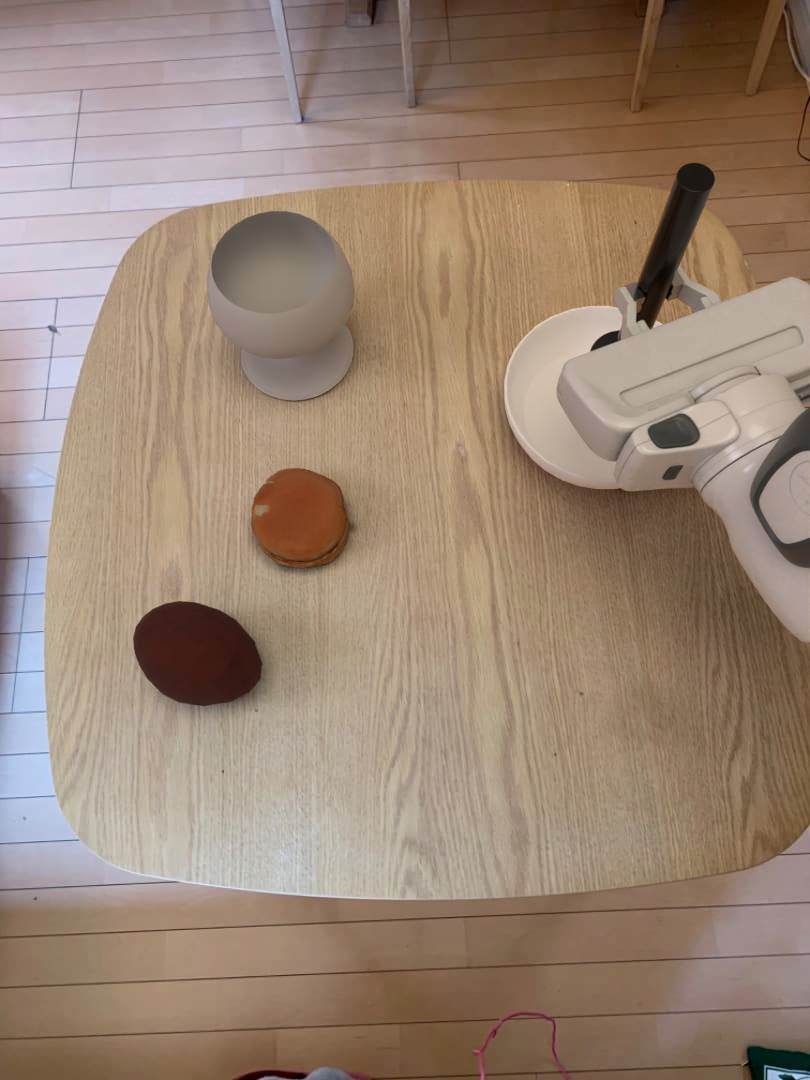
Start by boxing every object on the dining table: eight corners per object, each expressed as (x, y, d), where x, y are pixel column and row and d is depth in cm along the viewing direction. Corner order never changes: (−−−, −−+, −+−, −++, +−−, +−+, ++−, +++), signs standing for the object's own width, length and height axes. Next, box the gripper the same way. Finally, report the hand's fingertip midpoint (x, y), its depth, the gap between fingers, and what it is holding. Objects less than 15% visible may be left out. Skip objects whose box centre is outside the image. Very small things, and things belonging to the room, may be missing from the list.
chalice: (281, 434, 88) (253, 353, 74) (207, 344, 92) (168, 252, 78) (388, 361, 91) (381, 270, 77) (312, 277, 95) (292, 176, 81)
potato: (174, 602, 82) (143, 571, 73) (287, 645, 80) (269, 620, 71) (132, 685, 79) (95, 664, 70) (248, 733, 77) (225, 717, 69)
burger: (363, 551, 83) (359, 534, 79) (273, 585, 82) (264, 570, 78) (330, 467, 87) (324, 446, 82) (243, 498, 86) (233, 479, 81)
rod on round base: (659, 361, 77) (754, 156, 54) (639, 416, 75) (730, 226, 52) (595, 340, 78) (663, 130, 55) (574, 393, 76) (636, 198, 53)
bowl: (622, 312, 92) (635, 275, 86) (728, 454, 86) (749, 425, 80) (464, 387, 89) (467, 355, 84) (562, 540, 83) (572, 517, 77)
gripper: (886, 356, 58) (780, 208, 63) (620, 460, 56) (530, 300, 61) (844, 402, 64) (750, 264, 69) (601, 498, 62) (521, 349, 67)
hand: (645, 281), depth 65 cm, fingers closed on rod on round base, 2 cm apart
